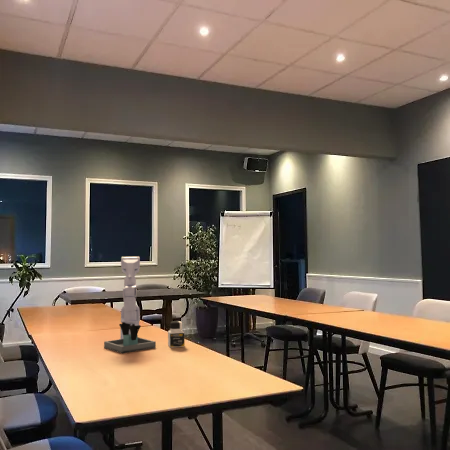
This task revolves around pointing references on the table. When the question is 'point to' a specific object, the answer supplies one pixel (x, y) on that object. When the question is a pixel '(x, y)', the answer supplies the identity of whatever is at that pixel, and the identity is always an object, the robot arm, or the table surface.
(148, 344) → the charcoal tray
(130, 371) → the table surface
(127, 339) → the teal block
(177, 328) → the medicine bottle
